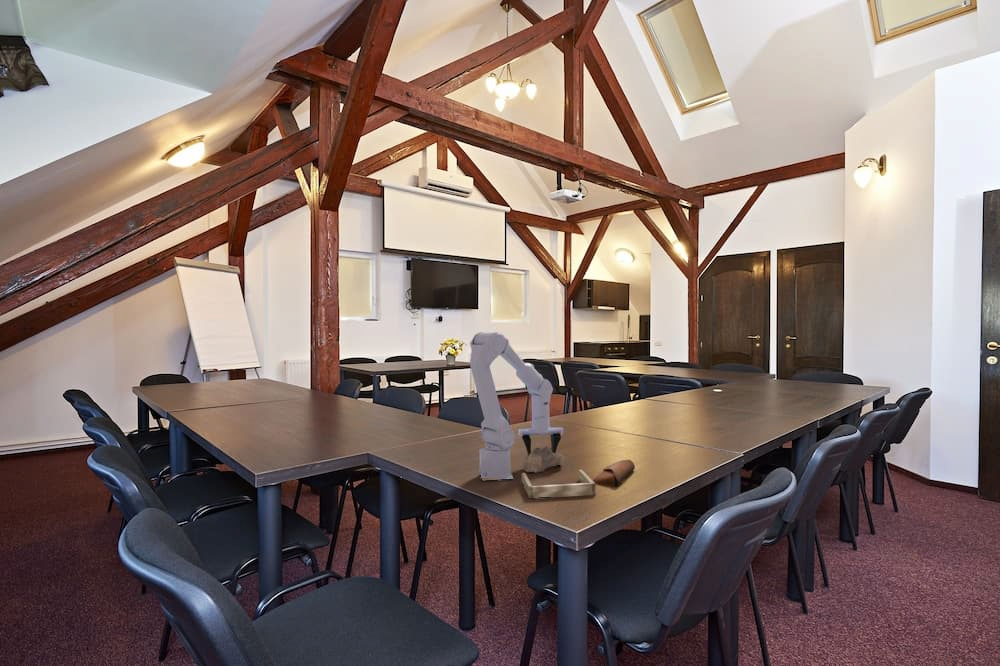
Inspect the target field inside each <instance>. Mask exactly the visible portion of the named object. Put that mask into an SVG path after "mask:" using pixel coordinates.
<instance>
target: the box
mask: <svg viewBox="0 0 1000 666" xmlns="http://www.w3.org/2000/svg"><path fill="white" fill-rule="evenodd" d="M592 480H593V479H592V478H590V476H589V475H588V474H587V473H586V472H585V471H584V470H583V469H578V481H579V483H563V484H544V485H532V483H531V481H530V478H529V477H528V476H527V474H526V472H521V484H522V483H523V485H524V487H523V488H525V489H524V491H525V490H526V491H525V493H526V492H527V493H526V494H528V495H527V497H528V496H529V497H528V498H535V499H540V498H539V497H551V498H564V497H565V498H566V497H580V496H581V497H582V496H594V495H595V496H596V495H597V494H596V493H597V492H596V489H597V488H596V485H597V484H595V483H594V482H593V481H592ZM523 485H522V486H523ZM537 497H538V498H537Z"/></svg>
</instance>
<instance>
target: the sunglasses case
mask: <svg viewBox="0 0 1000 666" xmlns="http://www.w3.org/2000/svg"><path fill="white" fill-rule="evenodd" d="M635 469H636V466H635V464H634V462H633V460H631V459H623V460H619V461H617V462H614V463H612V464H609V465H608V466H606V467H605V468H603V470H602V471H601V472H600V473H598V474H597V475H596V476H595V477H594V478H593V479H591V480H592V481H593V482H594V483H595V484H596V485H599V486H605V487H612V488H617V487H620V485H621V484H622V482H623V481H624V480H625V479H626V478H627V477H628V476H629V475H630V474H631V473H632V472H633V471H634V470H635Z"/></svg>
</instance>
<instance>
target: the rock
mask: <svg viewBox="0 0 1000 666" xmlns="http://www.w3.org/2000/svg"><path fill="white" fill-rule="evenodd" d="M551 451H552V450H551V447H548V446H545V447H543V448H541V447H535V448H534V449H533V451H531V453H530V455H529V456H528V455H527V456H525V457H524V460H523V470H525V473H535V474H537V473H541V472H545V470H546V469H547V468H548V467H552V466H558V465H560V466H559V467H561V466H563V464H564V455H562V454H560V453H553V452H551Z"/></svg>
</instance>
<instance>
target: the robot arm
mask: <svg viewBox="0 0 1000 666" xmlns="http://www.w3.org/2000/svg"><path fill="white" fill-rule="evenodd" d="M469 346H470V349H471V351H470V360H469V362H470V363H469V364H470V365H469V366H470V370H471V374H472V377H473V382H474V385H475V389H476V393H477V396H478V399H479V404H480V407H481V410H482V414H483V418H484V419H483V420H482V422H481V423H480V426H481V435H480V436H481V440H482V441H483V443H484V445H485V446H484V447H483V448H479V467H478V473H479V476H480V475H481V477H480V479H481V478H495V479H513V480H514V477H513V474H512V471H511V449H512V446H513V445H514V443H515V439H516V435H515V431H514V430H513V429H512V428H511V426H510V423H509V421H508V420H507V419H506V418H505V416H504V415H503V413H502V409H501V405H500V402H499V397H498V395H497V394H498V393H497V388H496V387H495V386H496V385H495V382H494V378H493V375H492V370H491V365H492V363H493V362H494V361H495V360H496V359H497V358H498V357H499V356H501V358H503V359H504V360H505V361H506V363H508V364H509V365H510V366H511V367H512V368H513V369H514V370H515V371H516V372H515V376H516V377H517V378H518V379H519V380H520V381H521V382H522V383H523V384H524V385H525V386H526V390H527V393H528V394H529V395H531V397H530V398H531V427H530V428H523V429H522V428H519V429H518V431H517V432H518V434H517V435H518V437H520V438H521V439H522V441H523V444H524V446H525V449H526V452H527V456H529V455H530V453H532V439H531V436H549V435H550V443H551V447H550V448H551V450H552V451H551V452H553V453H556V452H557V448H558V445H559V443H560V442H561V439H562V435H564V428H563V427H551V425H550V423H551V422H550V401H551V396H552V394H553V391H554V387H553V386H552V383H551V382H550V380H548V379H546V378H544V377H543V375H542V373H539V372H538V370H536V369H535V365H534V364H533V363H530V362H525V361H524V360H523V359H522V358H521V356H519V354H518V353H517V352H516V351H515V349H514V348H513V347H512V346H511V345H510V342H509V339H508V338H507V337H505V335H504V334H503V333H502V332H498V331H497V332H496V331H495V332H482V331H481V332H478V333H477V332H476V334H474V336H473V337H472V339H471V341H470V342H469ZM556 454H557V453H556ZM484 473H486V475H484Z"/></svg>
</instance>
